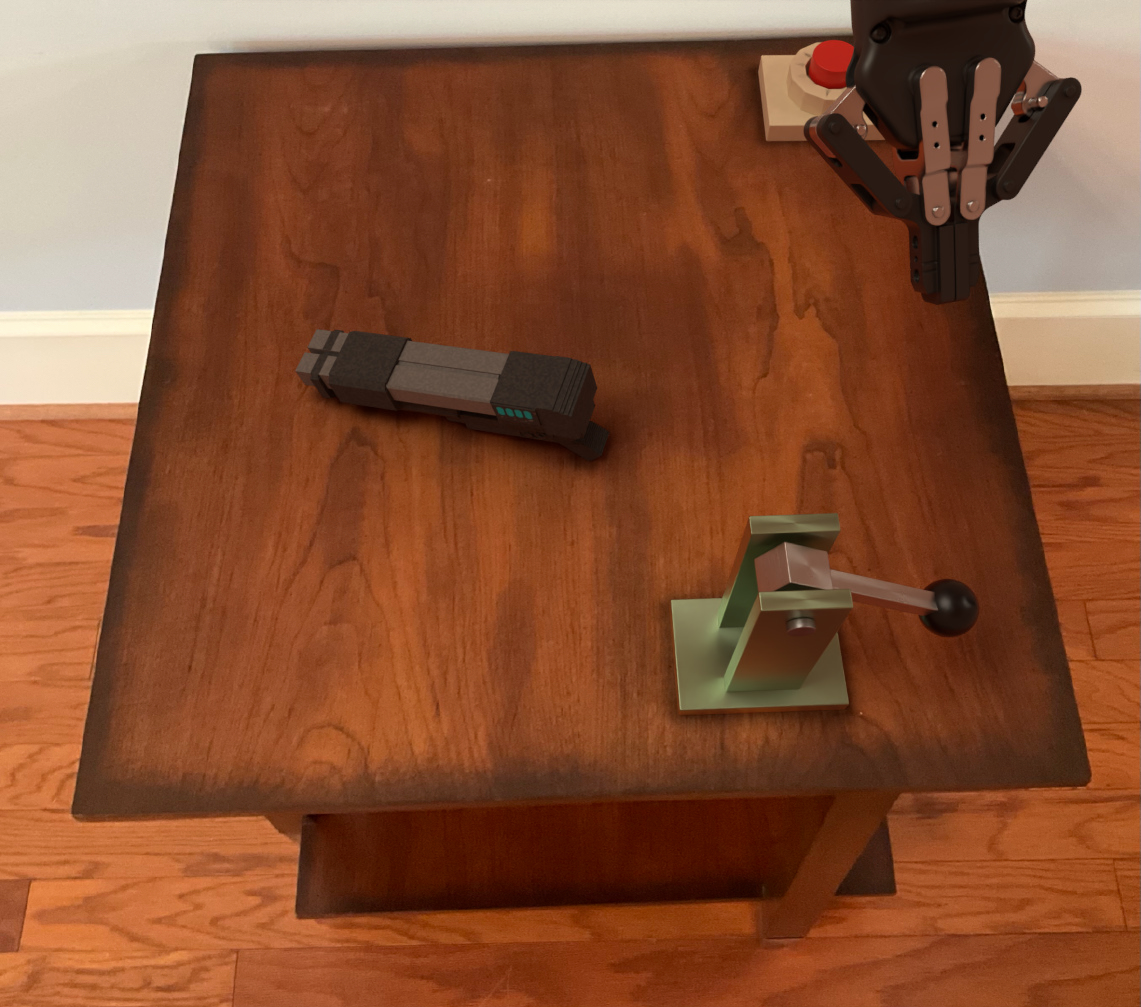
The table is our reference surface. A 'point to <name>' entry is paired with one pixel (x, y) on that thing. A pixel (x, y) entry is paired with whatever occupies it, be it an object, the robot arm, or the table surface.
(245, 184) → the table surface
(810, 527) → the switch bracket
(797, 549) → the switch lever
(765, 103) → the button box
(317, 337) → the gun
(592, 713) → the table surface
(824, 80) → the red button
